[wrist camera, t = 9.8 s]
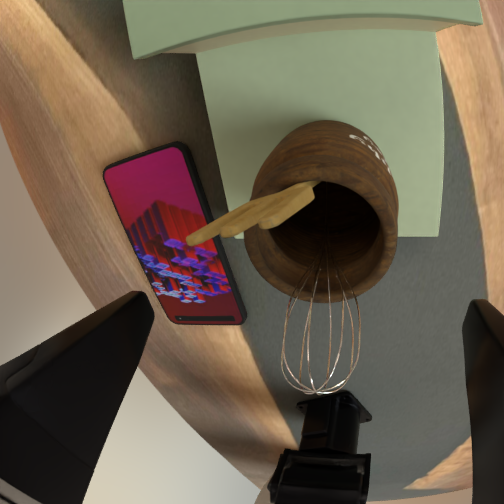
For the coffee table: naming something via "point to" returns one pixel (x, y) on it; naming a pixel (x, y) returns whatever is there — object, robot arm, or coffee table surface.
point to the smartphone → (174, 235)
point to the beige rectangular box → (316, 80)
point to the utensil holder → (318, 221)
